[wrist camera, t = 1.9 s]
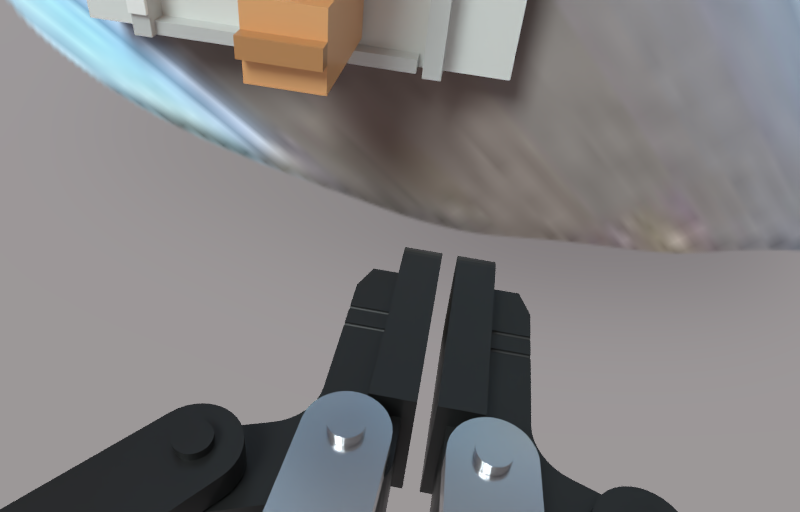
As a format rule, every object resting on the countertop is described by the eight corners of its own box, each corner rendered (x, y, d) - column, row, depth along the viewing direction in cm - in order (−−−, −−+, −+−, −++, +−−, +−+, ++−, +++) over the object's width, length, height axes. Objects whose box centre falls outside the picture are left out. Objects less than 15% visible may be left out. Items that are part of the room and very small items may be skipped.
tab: (365, -38, 24) (323, 13, 19) (361, 37, 26) (322, 103, 21) (291, -49, 25) (230, 0, 20) (292, 27, 26) (237, 90, 21)
